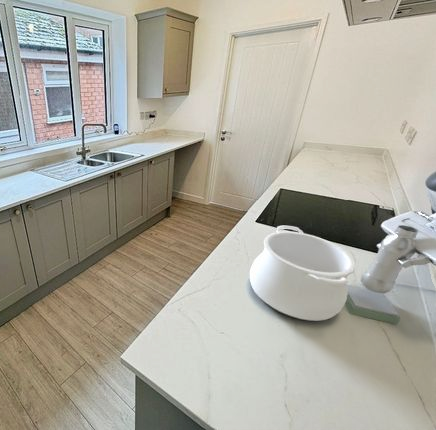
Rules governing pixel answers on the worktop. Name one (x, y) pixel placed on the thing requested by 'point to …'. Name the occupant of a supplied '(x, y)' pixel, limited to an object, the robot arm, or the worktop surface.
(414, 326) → the worktop surface
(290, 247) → the pot
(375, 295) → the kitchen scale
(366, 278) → the plastic bottle
